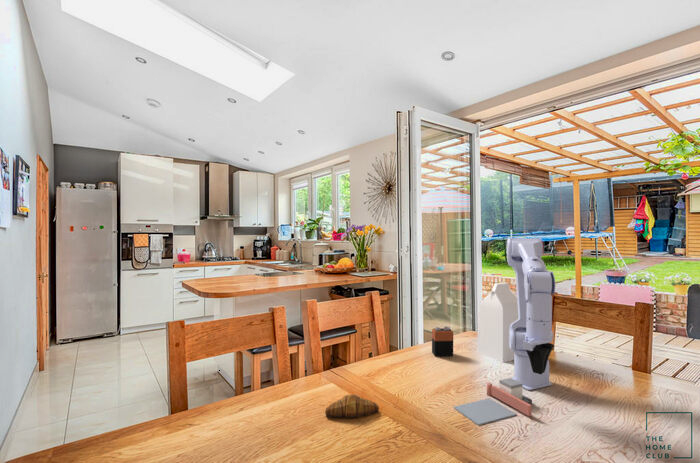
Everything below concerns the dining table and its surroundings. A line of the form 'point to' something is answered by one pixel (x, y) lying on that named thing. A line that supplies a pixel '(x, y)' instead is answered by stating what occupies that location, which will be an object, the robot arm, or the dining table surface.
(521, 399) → the bracket
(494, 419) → the slate mat
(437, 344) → the battery
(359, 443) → the dining table surface
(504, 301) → the milk
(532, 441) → the dining table surface
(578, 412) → the dining table surface
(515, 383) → the plug
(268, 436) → the dining table surface
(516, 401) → the pink flat bar
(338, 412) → the croissant
